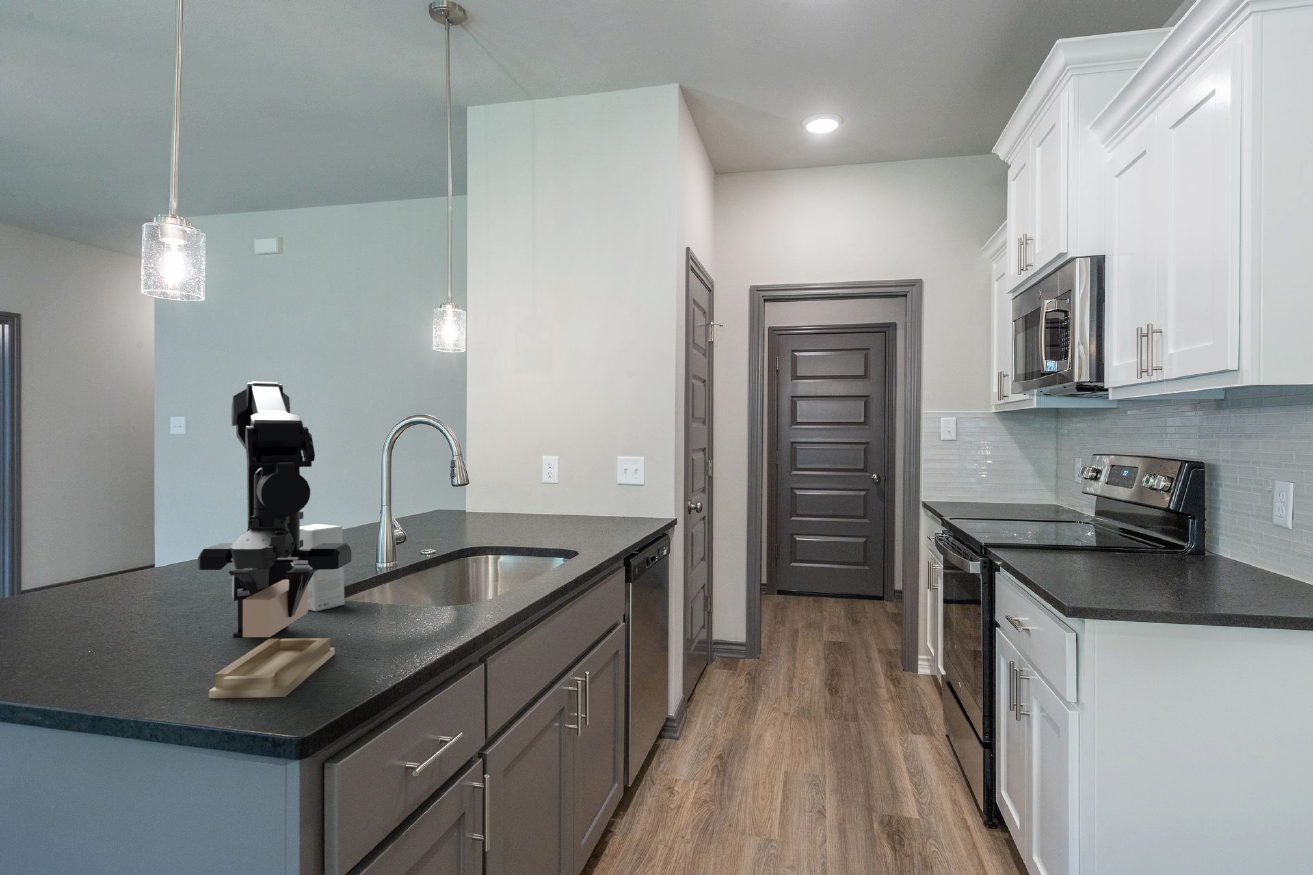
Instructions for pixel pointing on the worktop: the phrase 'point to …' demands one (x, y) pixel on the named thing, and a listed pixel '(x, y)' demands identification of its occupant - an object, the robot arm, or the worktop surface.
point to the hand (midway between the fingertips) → (277, 616)
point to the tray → (272, 668)
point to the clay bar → (270, 610)
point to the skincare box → (324, 583)
